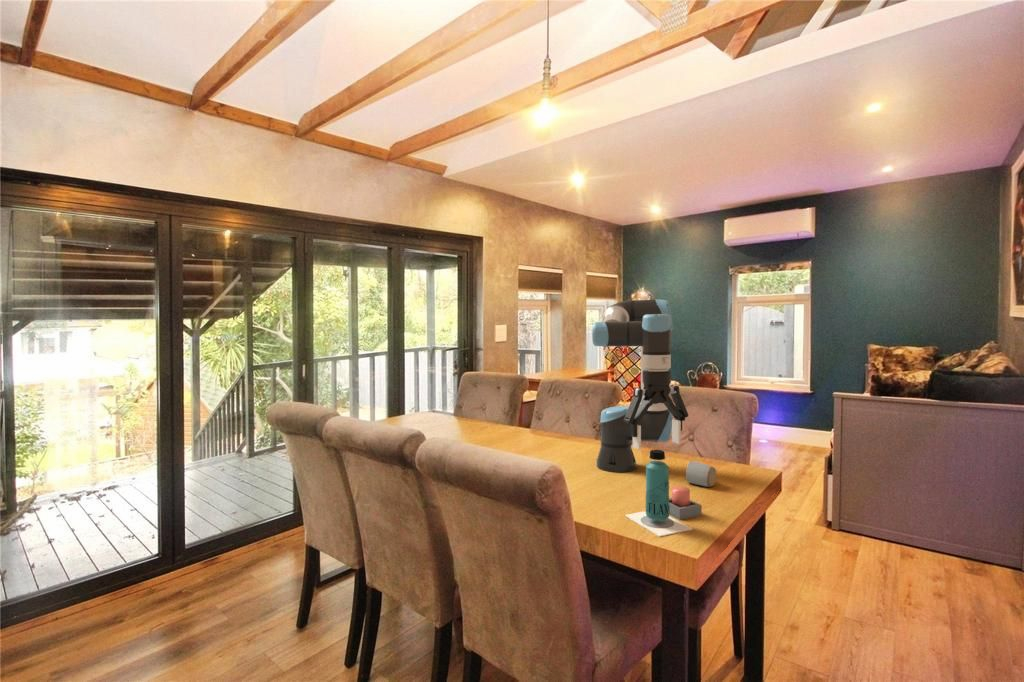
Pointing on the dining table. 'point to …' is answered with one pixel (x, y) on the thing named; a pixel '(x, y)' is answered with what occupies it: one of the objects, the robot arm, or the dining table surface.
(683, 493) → the button
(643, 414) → the robot arm
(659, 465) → the beverage bottle
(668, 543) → the dining table surface
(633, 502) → the dining table surface
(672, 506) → the button base
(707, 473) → the ceramic mug
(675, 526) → the paper card
